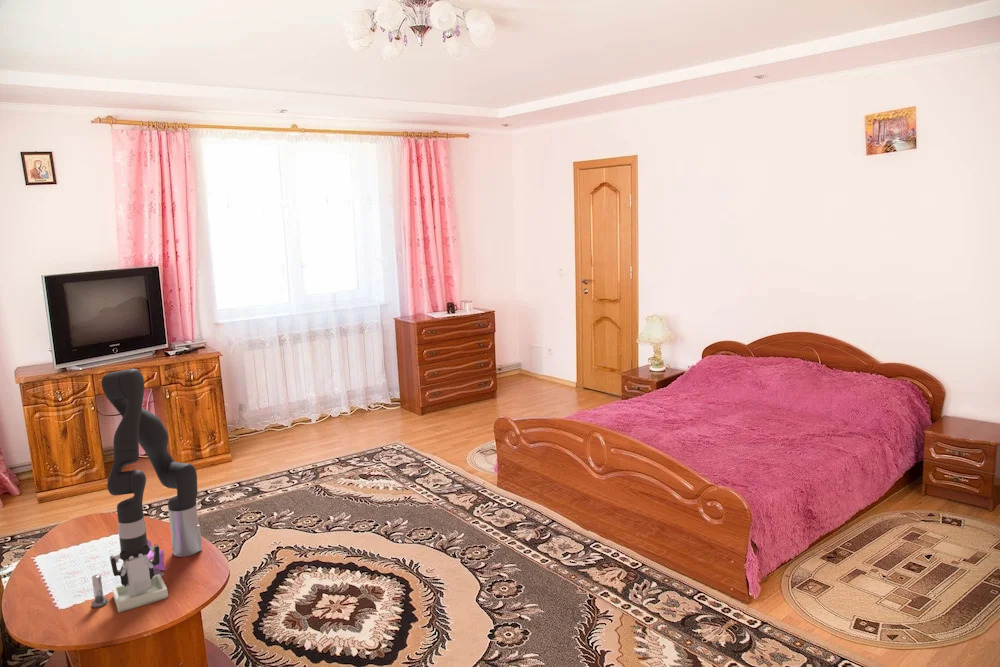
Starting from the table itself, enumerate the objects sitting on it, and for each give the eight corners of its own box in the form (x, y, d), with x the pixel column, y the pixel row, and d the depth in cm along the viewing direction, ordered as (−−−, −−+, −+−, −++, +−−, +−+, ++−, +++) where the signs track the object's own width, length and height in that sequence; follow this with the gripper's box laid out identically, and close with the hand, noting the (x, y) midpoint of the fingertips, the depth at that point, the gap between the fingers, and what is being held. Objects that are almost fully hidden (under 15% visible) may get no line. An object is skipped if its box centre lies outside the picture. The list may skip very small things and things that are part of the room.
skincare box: (146, 585, 226) (142, 550, 224) (152, 589, 223) (148, 554, 221) (126, 592, 221) (121, 557, 219) (132, 597, 218) (127, 561, 216)
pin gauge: (106, 598, 222) (103, 571, 220) (108, 604, 218) (105, 577, 217) (90, 603, 219) (87, 575, 218) (92, 609, 216) (89, 581, 214)
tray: (160, 582, 231) (159, 573, 231) (168, 597, 221) (167, 588, 221) (113, 596, 223) (112, 587, 223) (118, 612, 213) (117, 603, 213)
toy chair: (169, 569, 240) (164, 528, 237) (148, 582, 231) (144, 540, 229) (150, 566, 242) (145, 525, 240) (129, 578, 234) (124, 536, 232)
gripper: (155, 522, 226) (160, 570, 229) (105, 534, 218) (110, 584, 220) (159, 530, 220) (165, 579, 223) (108, 543, 212) (114, 594, 214)
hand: (138, 581), depth 221 cm, fingers closed on skincare box, 6 cm apart
